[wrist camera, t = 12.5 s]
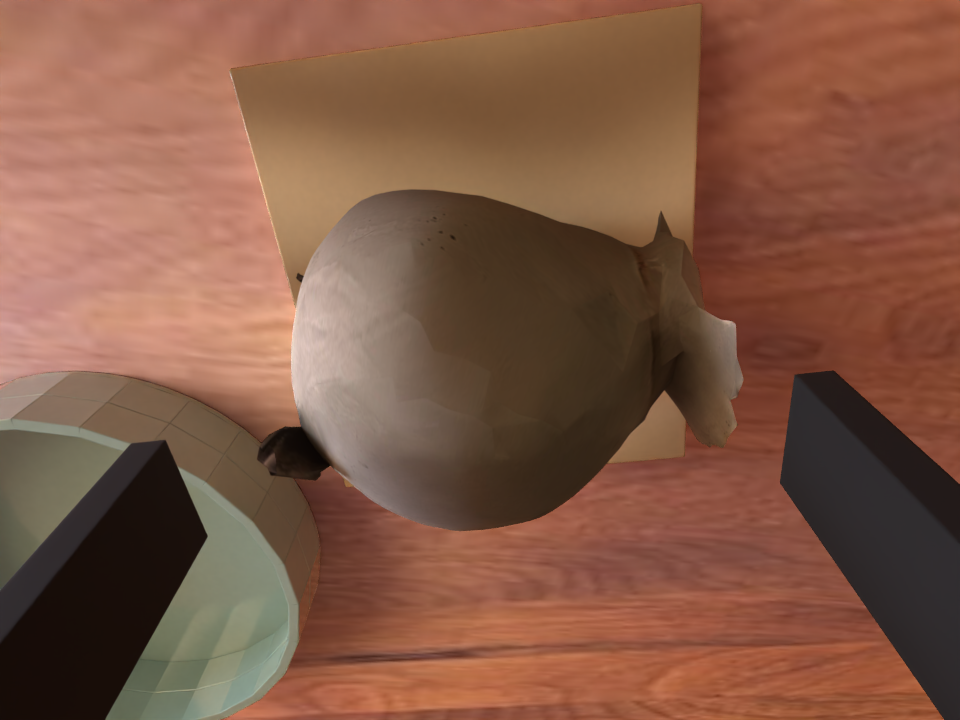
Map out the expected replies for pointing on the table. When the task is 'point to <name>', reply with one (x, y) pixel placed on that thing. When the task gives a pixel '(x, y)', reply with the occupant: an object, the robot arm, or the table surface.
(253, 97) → the cutting board
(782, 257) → the table surface
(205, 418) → the pan
